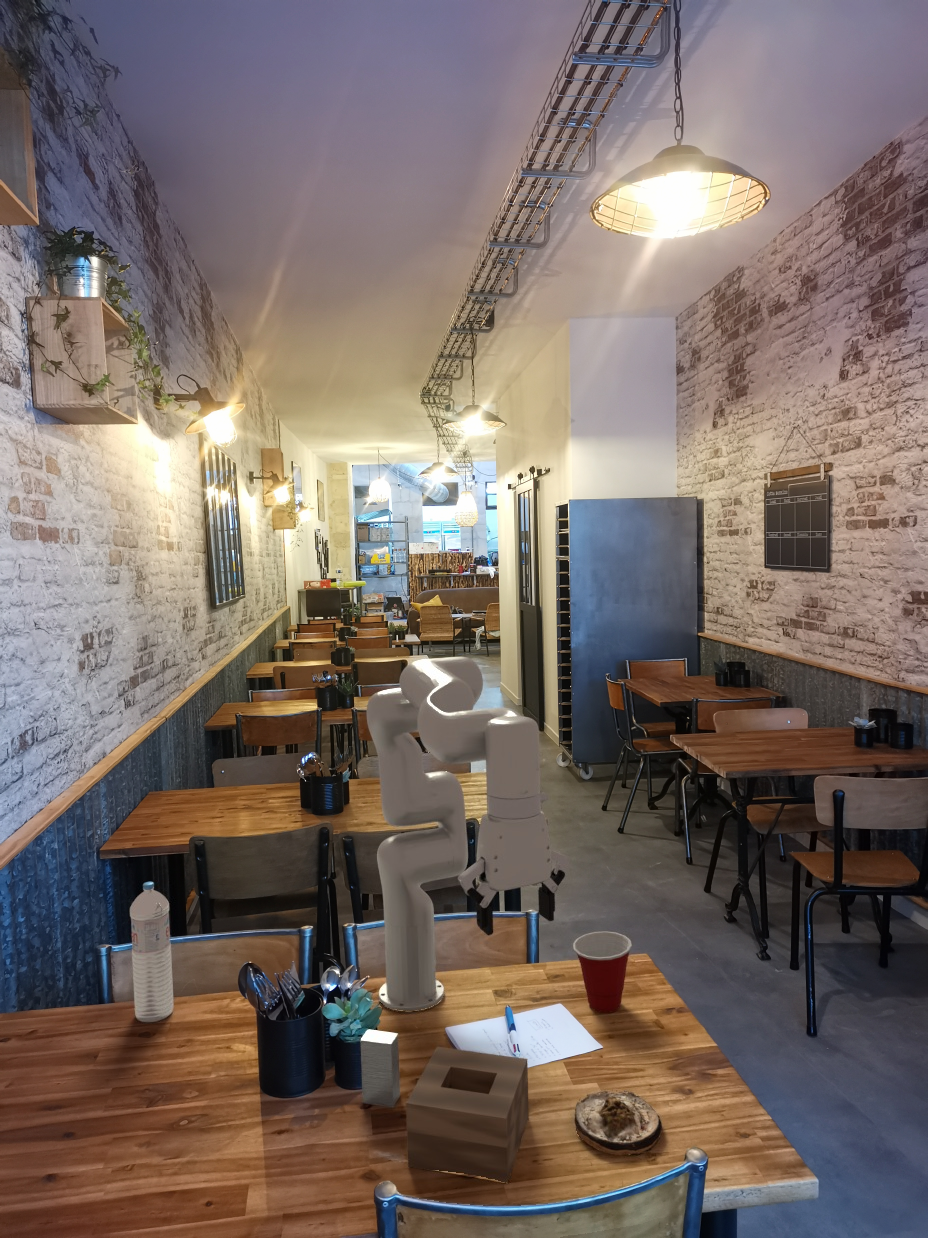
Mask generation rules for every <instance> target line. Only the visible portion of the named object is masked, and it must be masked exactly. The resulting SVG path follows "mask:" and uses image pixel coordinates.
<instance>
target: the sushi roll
mask: <svg viewBox="0 0 928 1238" xmlns="http://www.w3.org/2000/svg"><path fill="white" fill-rule="evenodd" d="M611 1091H612V1092H611ZM611 1091H609V1092H608V1091H606V1090H603V1091H597V1092H593V1093H589V1094H586V1097H584V1098H583V1099H578V1102H576V1107H575V1109H574V1111H575V1112H574V1114H573V1115H574V1124H575V1128H576V1129H575V1132H576V1131H577V1134H578V1135H579V1137H580V1138H581V1139H580V1140H582V1139H583V1141H584V1142H585V1143H586V1142H587V1143H586V1144H588V1145H589V1146H591V1147H592V1146H593V1147H592V1148H594V1147H595V1148H596V1149H595V1148H594V1149H595V1150H597V1149H598V1151H600V1150H601V1151H600V1152H603V1151H604V1153H606V1154H609V1153H610V1154H609V1155H613V1154H615V1156H623V1155H627V1154H630V1155H636V1156H640V1155H643V1153H645V1152H646V1153H647V1152H649V1151H652V1149H653V1148H654V1146H655V1145H656V1144H657V1143H658V1142H659V1140H660V1138H661V1137H660V1136H661V1134H662V1129H663V1124H662V1120H661V1118H660V1115H658V1114H657V1112H656V1111H655V1109H653V1107H652V1106H651V1105H650V1104H649V1103H648V1102H647V1101H646V1100H645V1099H644V1098H643V1097H641V1096H640V1095H636V1094H635V1093H634V1092H633V1091H628V1090H626V1089H625V1090H623V1091H620V1092H618V1090H615V1092H616V1093H615V1092H614V1090H613V1089H612V1090H611ZM579 1101H580V1102H579ZM577 1134H576V1135H577ZM579 1137H578V1138H579ZM625 1153H626V1154H625ZM622 1154H623V1155H622ZM630 1155H629V1156H630Z"/></svg>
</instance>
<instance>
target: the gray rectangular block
mask: <svg viewBox="0 0 928 1238" xmlns="http://www.w3.org/2000/svg"><path fill="white" fill-rule="evenodd" d="M399 1050H400V1049H399V1033H397V1032H389V1031H382V1030H376V1029H375V1030H374V1029H367V1030H366V1031H365V1033H364V1034H363V1035H362V1037H361V1038H360V1055H361V1056H360V1062H361V1063H360V1065H361V1066H360V1067H361V1087H362V1089H361V1092H362V1103H363V1104H369V1105H373V1106H374V1105H375V1106H381V1107H386V1108H391V1109H392V1108H394V1107H395V1106H396V1103H397V1102H398V1100H399V1099H400V1097H401V1086H400V1085H401V1084H400V1054H399V1053H400V1051H399Z"/></svg>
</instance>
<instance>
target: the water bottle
mask: <svg viewBox="0 0 928 1238" xmlns="http://www.w3.org/2000/svg"><path fill="white" fill-rule="evenodd" d="M154 886H155V883H154V882H153V881H147V882H144V883H143V884H142V890H143V892H141V893H140V894H139V895H137V897H136V898H135V899H134V901H132V903H131V906H130V907H129V917H130V921H131V923H130V924H131V943H132V944H131V945H132V946H131V958H132V973H133V974H132V979H133V981H132V982H133V998H134V1001H133V1002H134V1013H135V1017H136V1019H137V1020H138V1021H140V1022H141V1023H155V1022H159V1021H162V1020H164V1019H166V1018H167V1017H169V1016H170V1015H171V1014H172V1013H173V1011H174V990H173V989H174V986H173V984H174V982H173V968H172V965H173V963H172V960H173V959H172V943H171V935H170V933H171V932H170V931H171V930H170V913H169V911H170V903H169V901H168V899H167V898H166V896H165V895H164V894H162V893H161V892H159V891H157V890H154V888H155V887H154Z"/></svg>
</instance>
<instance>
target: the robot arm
mask: <svg viewBox="0 0 928 1238" xmlns="http://www.w3.org/2000/svg"><path fill="white" fill-rule="evenodd" d="M483 678H484V677H483V674H482V672H481V669H480V666H478V664H477V663H476V662H475V661H474V659H472V658H469V657H466V656H450V657H449V656H447V657H438V658H424V659H423V658H421V659H419V660H415V661H412V662H410V663H408V664H407V665H406V666H405V667H404V669H403V670H402V671H401V674H400V676H399V680H398V681H399V687H395V688H389V689H384V690H381V691H377V692H375V693H374V694H372V695H371V696H370V697H369V699H368V701H367V704H366V721H367V727H368V731H369V733H370V736H371V738H372V739H371V740H372V741H373V744H374V746H375V751H376V753H377V761H378V773H379V786H380V788H379V789H380V801H381V811H382V816H383V818H384V821H385V822H386V823H387V825H389V826H391V827H395V828H405V827H412V826H413V827H414V826H419V825H420V826H421V825H427V824H432V823H433V824H434V823H437V828H431V829H430V828H429V829H425V830H417V831H416V830H415V831H410V832H404V833H399V834H396V835H392V836H389V837H387V838H386V839H383V841H382V842H381V843H380V844H379V846H378V849H377V852H376V853H377V854H376V862H377V868H378V871H379V872H378V873H379V878H380V883H381V890H382V900H383V903H382V904H383V919H384V920H383V921H384V922H383V924H384V925H383V926H384V950H385V954H384V955H385V956H384V957H385V978H386V979H385V981H386V982H385V983H383V985H382V986H380V988H379V990H378V1001H379V1000H380V1001H379V1003H380V1002H381V1003H383V1004H384V1005H385V1006H386V1007H388V1008H391V1009H397V1010H403V1011H415V1010H421V1009H425V1008H429V1007H431V1006H433V1005H435V1004H437V1003H438V1002H439V1001H440V1000H441V999H442V998H443V999H444V997H445V987H444V985H443V983H442V982H440V980H438V979H437V976H436V972H437V971H436V964H437V961H438V960H437V958H436V946H435V913H434V912H435V909H434V903H433V901H432V899H431V897H430V896H429V895H428V894H427V893H426V891H424V890H423V889H422V888H421V885H422V884H424V883H429V882H433V881H438V880H443V879H449V878H453V877H457V880H458V883H459V884H460V886H461V887H462V889H463V891H464V893H465V894H466V895H467V896H468V897H469V898H471V900H472V901H473V902H475V903H476V905H475V906H476V907H475V908H476V912H475V913H476V924H477V927H478V928H479V930H481V931H482V932H483V933H485V934H486V935H487V936H492V935H493V934H494V912H493V911H494V909H493V906H492V905H490V903H491V902H492V900H493V899H494V897H495V895H496V894H497V892H503V891H509V890H514V889H519V888H524V887H529V886H533V885H538V884H540V885H541V886H540V887H538V889H537V894H538V915H540V917H542V918H543V919H545V920H547V921H548V922H553V921H554V920H555V914H554V912H555V911H556V899H555V898H556V895H555V894H556V893H557V892H558V890H559V886H560V884H561V883H562V881H563V880H564V878H565V877H566V872H567V869H568V868H569V864H570V861H571V858H570V857H569V856H567V855H565V854H563V853H560V852H558V851H556V850H554V849H552V848H551V840H550V834H549V833H550V832H549V827H548V823H547V819H546V815H545V812H543V811H542V805H543V803H545V802H546V803H547V802H548V801H549V795H548V794H547V792H546V791H545V792H544V791H543V792H542V791H541V771H540V770H541V769H540V767H541V764H540V760H541V759H540V729H539V725H538V723H537V722H536V720H534V719H533V718H531V717H528V716H523V715H521V714H520V713H519V712H518V711H517V710H515V709H513V708H511V707H491V708H480V709H474V707H475V705H476V704H477V703H478V701H479V699H480V698H481V696H482V692H483V687H484V679H483ZM411 733H418V734H419V738H420V741H421V744H422V745H423V747H424V748H425V749H426V750H427V752H429V753H430V754H431V755H432V756H433V758H435V759H436V760H438V761H439V762H441V763H443V764H448V765H459V764H467V763H474V762H481V761H485V774H486V812H487V813H485V814H482V815H481V819H480V823H479V828H478V835H477V846H476V862H474V863H473V864H472V865H471V866H469V867H468V866H467V865H468V861H469V860H468V859H469V851H468V850H469V849H468V847H469V846H468V834H467V833H468V832H467V820H466V817H467V816H466V805H465V797H464V791H463V788H462V785H461V782H460V781H459V779H458V777H457V776H456V775H455V774H453V773H452V772H451V771H450V772H449V771H446V770H445V771H443V770H442V771H441V770H440V771H433V772H431V771H430V772H425V770H424V757H423V749H422V748H421V746H420V744H419V742H417V740H416V738H415V737H413V735H412V734H411ZM553 861H554V862H555V866H554V868H553V869H552V867H553V865H552V863H553ZM467 867H468V868H467ZM476 878H477V881H479V882H480V883H479V885H478V887H477V888H475V887H474V884H473V881H474V880H475V879H476ZM443 996H444V997H443ZM443 999H442V1000H443ZM442 1000H441V1001H442ZM381 1003H380V1004H381ZM438 1004H439V1003H438ZM438 1004H437V1005H438ZM385 1006H384V1007H385ZM435 1006H436V1005H435ZM386 1007H385V1008H386ZM388 1008H387V1009H388ZM429 1009H430V1008H429Z"/></svg>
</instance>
